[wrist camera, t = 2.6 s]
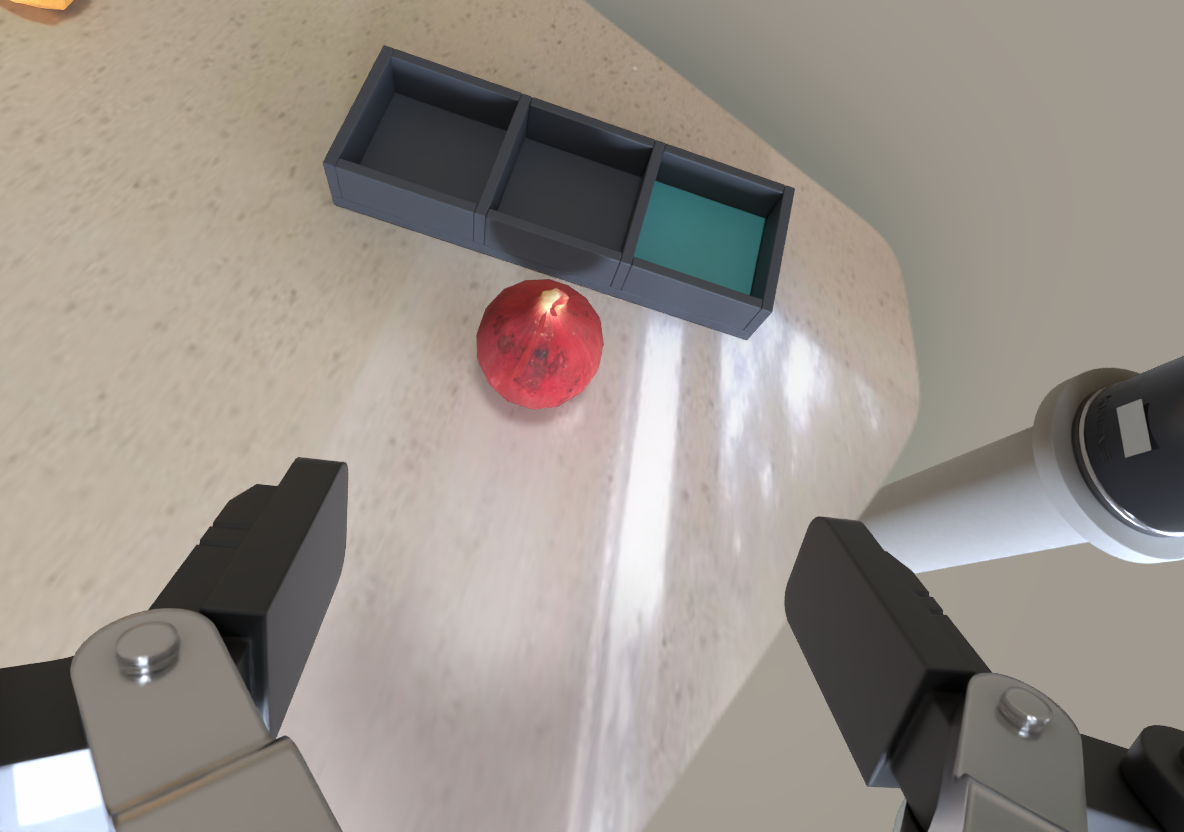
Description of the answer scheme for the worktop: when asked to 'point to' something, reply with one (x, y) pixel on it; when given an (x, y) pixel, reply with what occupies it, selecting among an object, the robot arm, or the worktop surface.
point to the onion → (539, 343)
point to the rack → (561, 193)
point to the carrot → (46, 3)
